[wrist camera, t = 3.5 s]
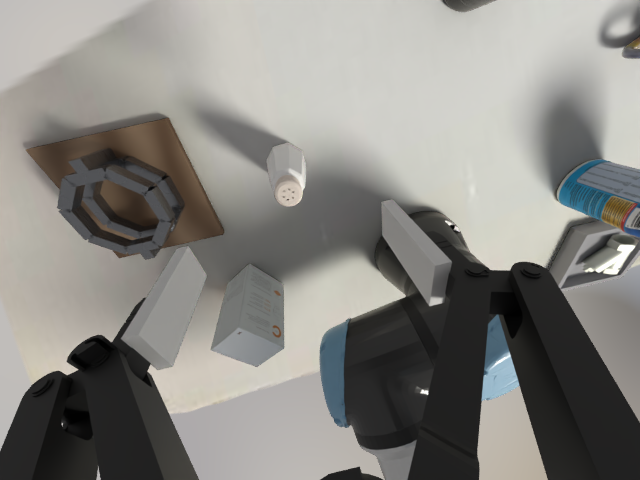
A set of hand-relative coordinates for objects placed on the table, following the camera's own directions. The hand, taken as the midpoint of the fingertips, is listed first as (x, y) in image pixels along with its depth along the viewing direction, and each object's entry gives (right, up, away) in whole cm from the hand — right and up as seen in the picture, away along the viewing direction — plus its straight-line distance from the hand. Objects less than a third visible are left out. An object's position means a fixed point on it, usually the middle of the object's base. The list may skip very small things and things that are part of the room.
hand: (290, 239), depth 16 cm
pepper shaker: (-3, +11, +16) cm, 20 cm away
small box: (-10, -8, +27) cm, 30 cm away
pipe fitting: (+61, -2, +34) cm, 70 cm away
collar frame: (-22, +6, +16) cm, 28 cm away
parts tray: (+61, -2, +35) cm, 70 cm away
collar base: (-22, +6, +16) cm, 28 cm away
